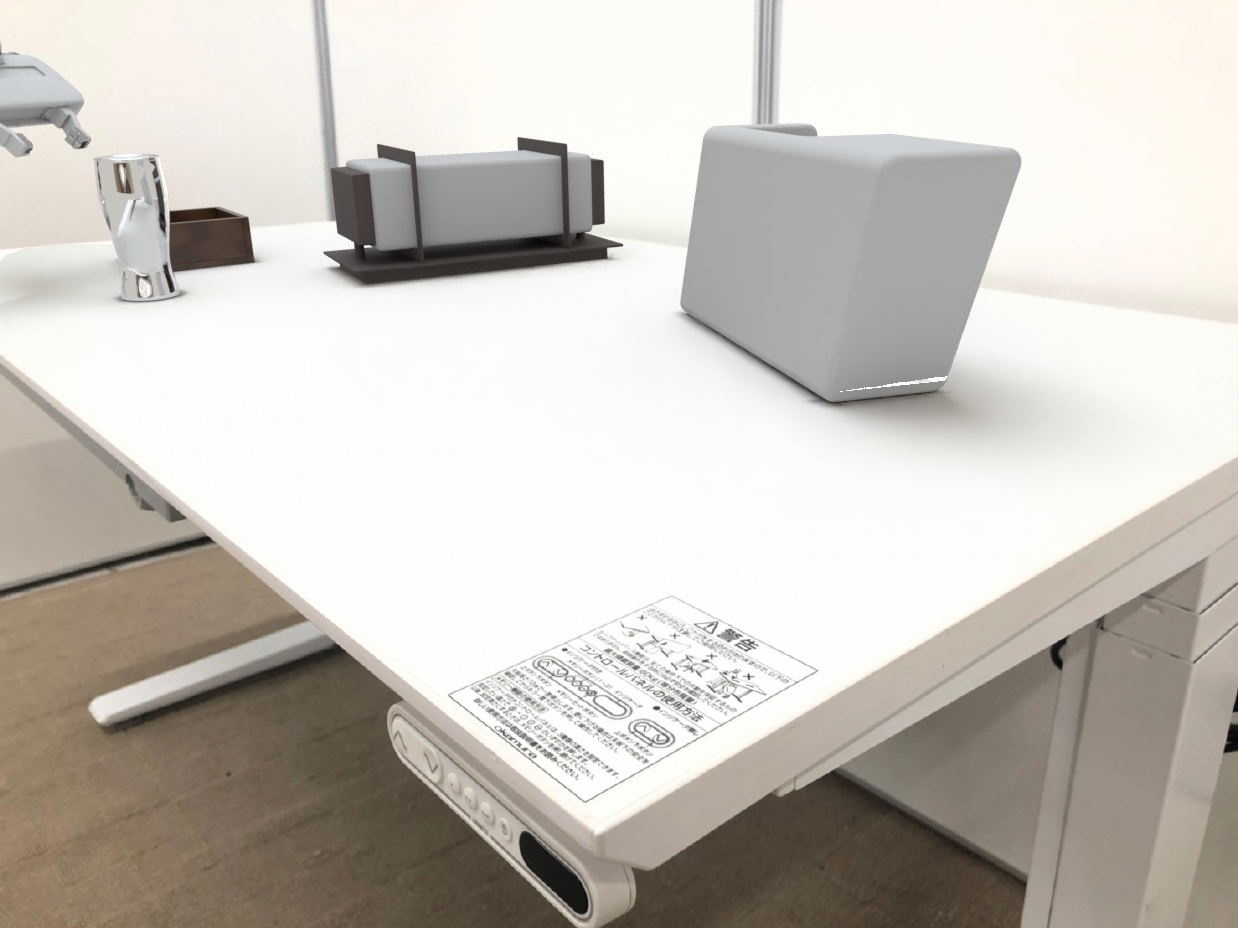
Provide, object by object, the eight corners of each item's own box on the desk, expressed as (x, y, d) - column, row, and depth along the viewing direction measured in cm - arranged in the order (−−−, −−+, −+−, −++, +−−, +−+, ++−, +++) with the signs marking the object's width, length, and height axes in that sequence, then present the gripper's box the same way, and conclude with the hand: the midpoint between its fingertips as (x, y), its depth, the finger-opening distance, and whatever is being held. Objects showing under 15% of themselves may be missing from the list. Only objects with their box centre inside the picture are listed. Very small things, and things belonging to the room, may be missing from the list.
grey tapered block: (909, 496, 87) (1030, 151, 68) (794, 512, 85) (886, 158, 65) (771, 302, 109) (833, -1, 90) (677, 309, 107) (720, -1, 87)
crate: (144, 274, 130) (135, 227, 128) (121, 259, 141) (113, 215, 139) (254, 262, 137) (248, 216, 135) (225, 248, 148) (219, 206, 146)
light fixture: (622, 140, 130) (341, 155, 115) (624, 259, 135) (355, 288, 120) (570, 134, 143) (311, 146, 128) (573, 243, 148) (324, 267, 133)
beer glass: (134, 289, 122) (110, 154, 116) (194, 289, 121) (172, 153, 116) (105, 302, 115) (78, 160, 110) (168, 302, 115) (144, 159, 109)
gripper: (10, 74, 123) (102, 160, 125) (-137, 78, 104) (-26, 180, 106) (36, 32, 121) (129, 120, 122) (-110, 28, 102) (3, 133, 104)
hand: (56, 148), depth 114 cm, fingers open, 8 cm apart
